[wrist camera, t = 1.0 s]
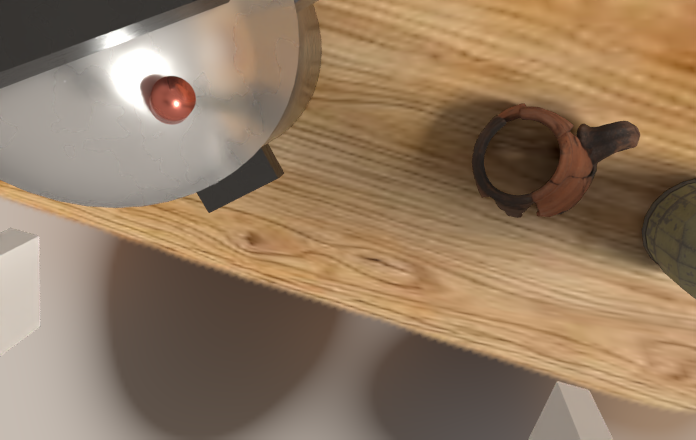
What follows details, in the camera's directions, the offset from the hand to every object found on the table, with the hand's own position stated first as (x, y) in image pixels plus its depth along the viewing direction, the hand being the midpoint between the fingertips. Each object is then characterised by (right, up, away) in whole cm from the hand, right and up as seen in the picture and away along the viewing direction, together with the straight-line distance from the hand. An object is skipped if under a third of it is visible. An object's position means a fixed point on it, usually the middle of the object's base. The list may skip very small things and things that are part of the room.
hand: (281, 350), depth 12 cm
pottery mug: (+18, +9, +29) cm, 35 cm away
